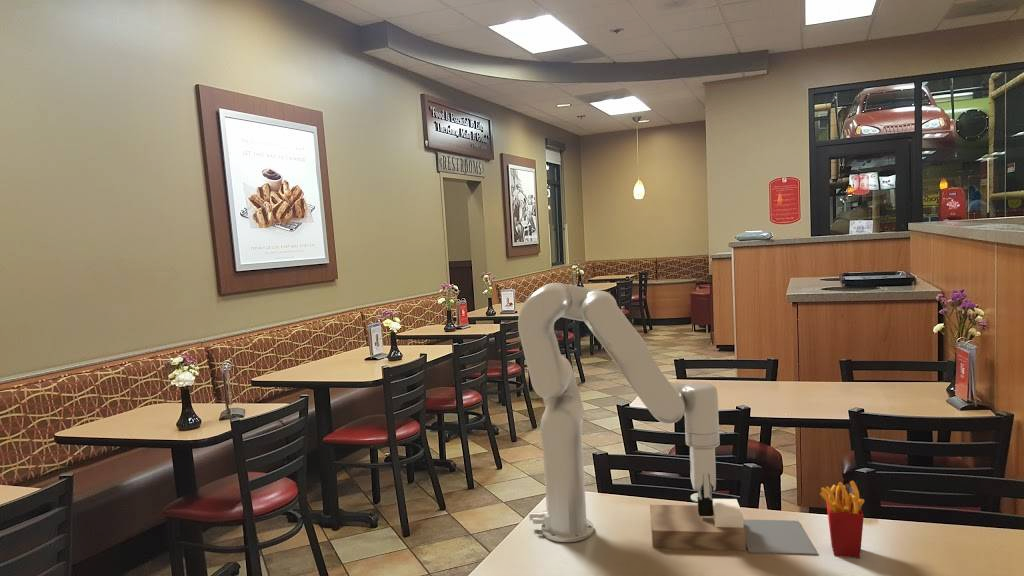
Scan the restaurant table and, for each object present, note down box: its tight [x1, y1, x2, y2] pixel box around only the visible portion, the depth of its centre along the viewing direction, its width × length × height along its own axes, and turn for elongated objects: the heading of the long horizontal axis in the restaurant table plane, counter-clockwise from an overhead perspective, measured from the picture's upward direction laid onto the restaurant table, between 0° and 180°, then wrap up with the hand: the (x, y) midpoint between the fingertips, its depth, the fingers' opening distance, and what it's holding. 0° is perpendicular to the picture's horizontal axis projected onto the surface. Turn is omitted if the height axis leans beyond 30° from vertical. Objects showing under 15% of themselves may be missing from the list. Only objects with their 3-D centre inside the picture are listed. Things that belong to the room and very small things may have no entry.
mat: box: [743, 518, 819, 556], centre depth 144 cm, size 14×16×1 cm
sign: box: [690, 492, 699, 503], centre depth 162 cm, size 5×1×15 cm
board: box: [649, 504, 747, 551], centre depth 147 cm, size 20×14×4 cm
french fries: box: [819, 480, 865, 559], centre depth 136 cm, size 9×8×15 cm
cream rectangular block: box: [712, 498, 744, 528], centre depth 145 cm, size 6×9×3 cm, turn 169°
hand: (705, 514), depth 146 cm, fingers closed
